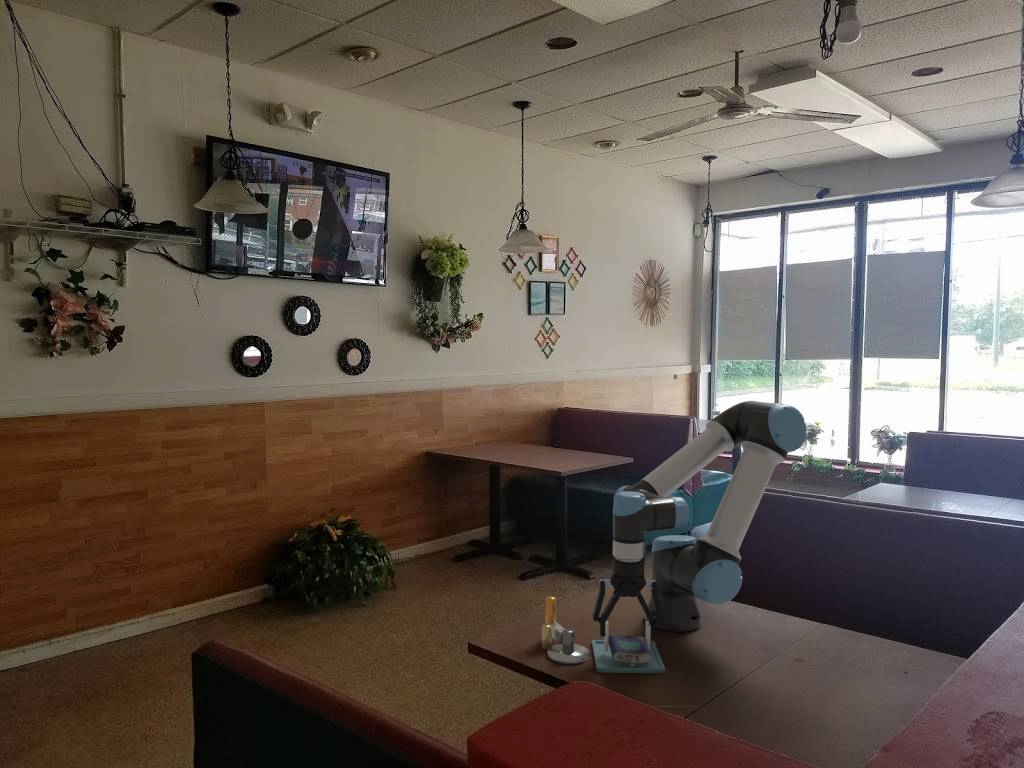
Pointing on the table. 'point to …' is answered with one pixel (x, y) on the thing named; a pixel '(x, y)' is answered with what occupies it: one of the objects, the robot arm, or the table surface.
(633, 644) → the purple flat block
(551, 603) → the crank
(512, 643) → the table surface
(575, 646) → the crank base
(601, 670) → the tray
